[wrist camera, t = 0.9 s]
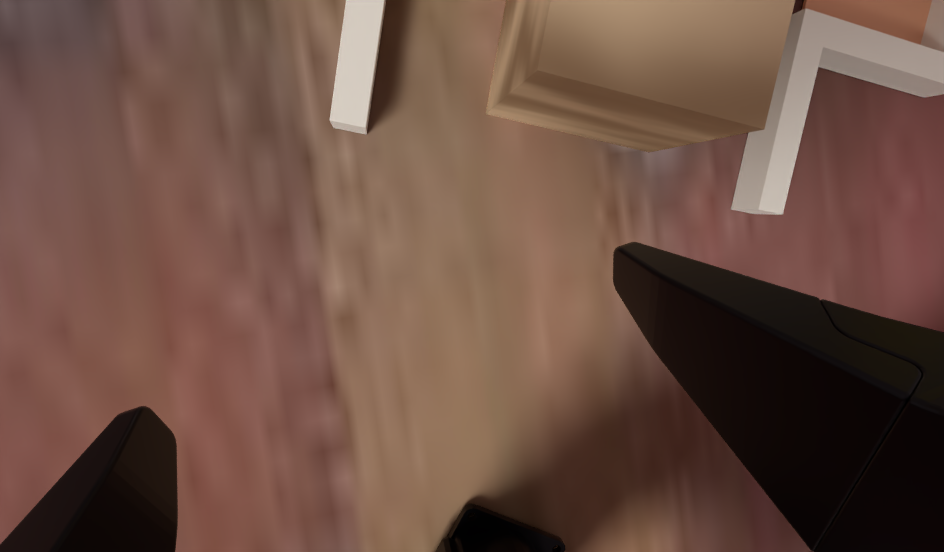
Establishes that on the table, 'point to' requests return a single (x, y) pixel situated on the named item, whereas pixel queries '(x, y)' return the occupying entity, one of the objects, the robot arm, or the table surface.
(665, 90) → the oak block
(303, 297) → the table surface
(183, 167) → the table surface
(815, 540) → the robot arm
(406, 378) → the table surface
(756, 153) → the white flat frame
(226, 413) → the table surface
